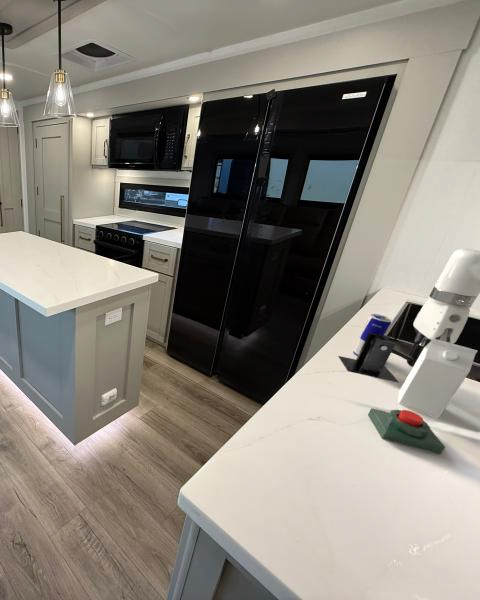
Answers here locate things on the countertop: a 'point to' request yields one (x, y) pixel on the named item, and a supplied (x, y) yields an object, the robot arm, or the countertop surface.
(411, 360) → the lever
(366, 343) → the bracket
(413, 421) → the button
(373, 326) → the beverage can
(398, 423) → the button box
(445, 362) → the milk carton
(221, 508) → the countertop surface
